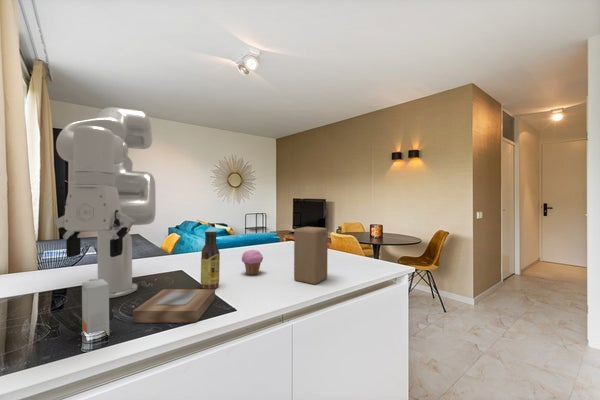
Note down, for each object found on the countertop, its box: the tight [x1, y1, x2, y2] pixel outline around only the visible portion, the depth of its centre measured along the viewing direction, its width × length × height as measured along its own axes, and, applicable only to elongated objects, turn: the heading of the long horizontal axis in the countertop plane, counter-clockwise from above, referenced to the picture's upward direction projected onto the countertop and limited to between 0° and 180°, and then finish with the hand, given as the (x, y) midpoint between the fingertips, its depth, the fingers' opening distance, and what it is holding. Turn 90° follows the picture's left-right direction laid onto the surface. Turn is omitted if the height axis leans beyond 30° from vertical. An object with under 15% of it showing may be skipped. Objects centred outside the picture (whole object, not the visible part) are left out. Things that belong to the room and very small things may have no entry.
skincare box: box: [81, 279, 110, 337], centre depth 63 cm, size 6×4×12 cm
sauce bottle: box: [200, 230, 221, 289], centre depth 96 cm, size 7×6×20 cm
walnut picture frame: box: [132, 288, 216, 324], centre depth 77 cm, size 16×16×3 cm
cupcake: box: [241, 249, 264, 276], centre depth 114 cm, size 9×9×10 cm
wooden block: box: [293, 226, 329, 285], centre depth 106 cm, size 10×10×20 cm
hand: (94, 255), depth 63 cm, fingers open, 9 cm apart
